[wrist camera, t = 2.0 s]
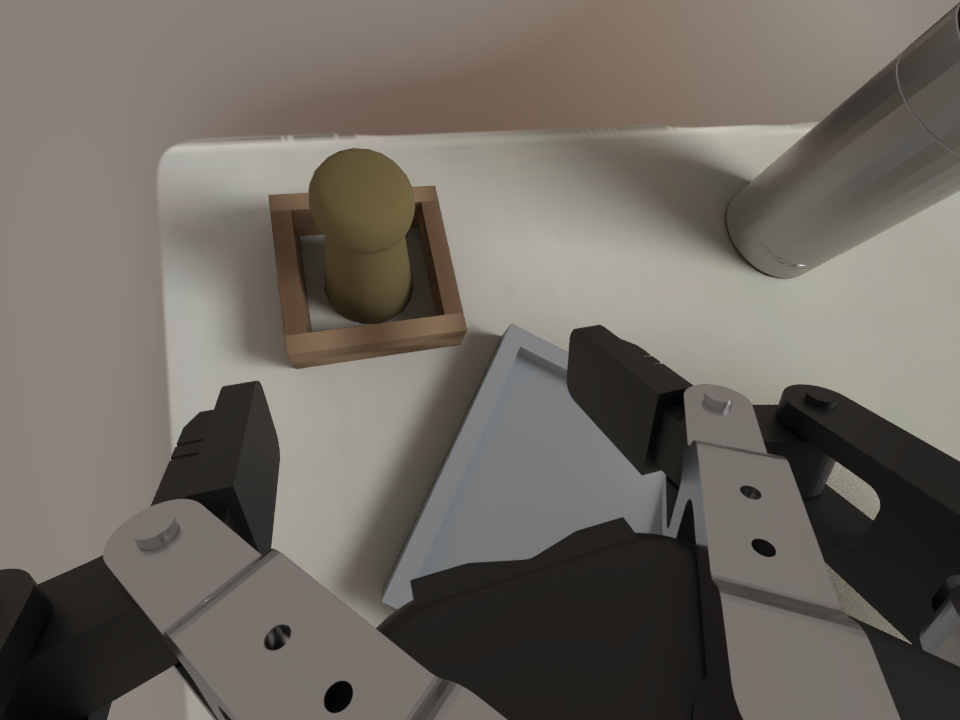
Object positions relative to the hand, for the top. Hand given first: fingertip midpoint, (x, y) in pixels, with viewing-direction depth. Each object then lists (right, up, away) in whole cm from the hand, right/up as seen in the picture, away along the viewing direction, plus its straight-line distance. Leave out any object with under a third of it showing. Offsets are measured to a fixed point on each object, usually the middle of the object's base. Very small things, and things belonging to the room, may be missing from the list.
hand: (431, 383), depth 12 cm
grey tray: (+6, -9, +18) cm, 21 cm away
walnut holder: (-7, +6, +20) cm, 22 cm away
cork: (-7, +6, +20) cm, 22 cm away
